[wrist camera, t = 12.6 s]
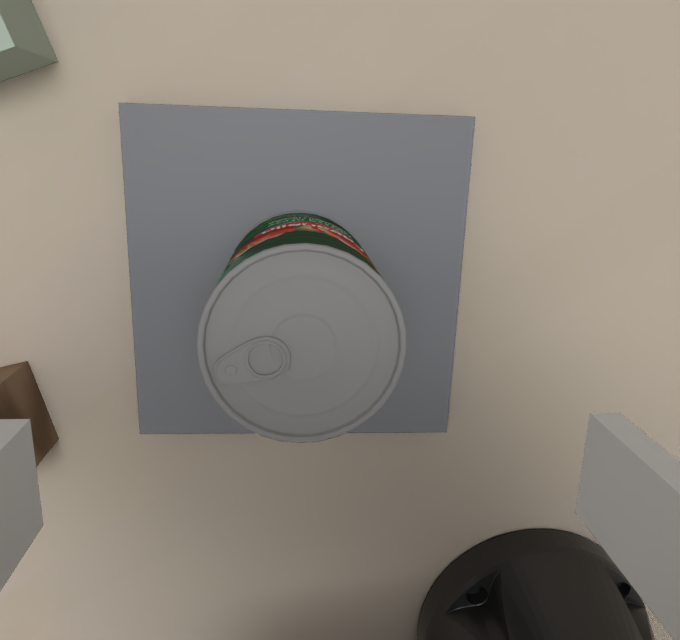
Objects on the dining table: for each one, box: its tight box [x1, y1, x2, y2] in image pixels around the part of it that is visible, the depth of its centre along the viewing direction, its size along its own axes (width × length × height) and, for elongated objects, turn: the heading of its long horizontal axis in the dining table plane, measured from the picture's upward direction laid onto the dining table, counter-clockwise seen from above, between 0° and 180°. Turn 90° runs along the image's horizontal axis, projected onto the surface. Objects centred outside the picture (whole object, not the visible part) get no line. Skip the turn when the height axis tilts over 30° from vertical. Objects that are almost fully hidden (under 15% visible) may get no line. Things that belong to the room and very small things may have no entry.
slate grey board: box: [119, 103, 475, 434], centre depth 34 cm, size 18×18×1 cm
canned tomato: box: [197, 211, 407, 443], centre depth 28 cm, size 8×8×11 cm
